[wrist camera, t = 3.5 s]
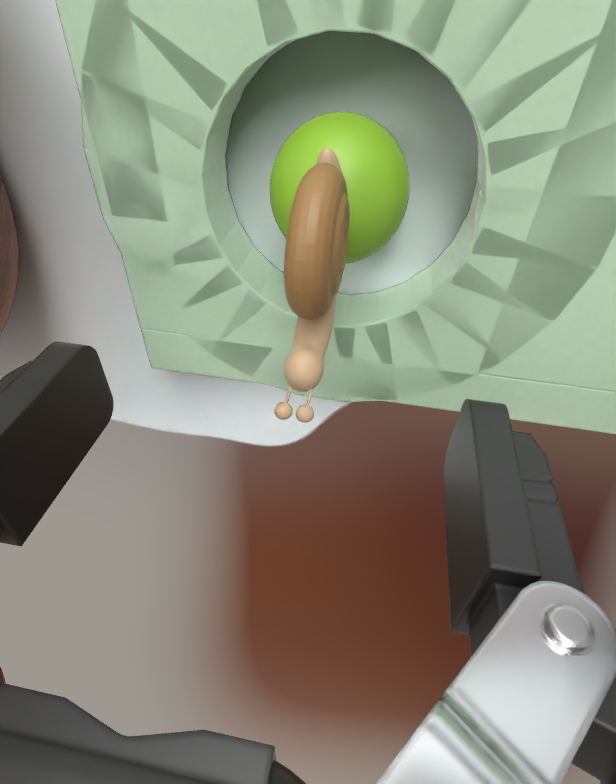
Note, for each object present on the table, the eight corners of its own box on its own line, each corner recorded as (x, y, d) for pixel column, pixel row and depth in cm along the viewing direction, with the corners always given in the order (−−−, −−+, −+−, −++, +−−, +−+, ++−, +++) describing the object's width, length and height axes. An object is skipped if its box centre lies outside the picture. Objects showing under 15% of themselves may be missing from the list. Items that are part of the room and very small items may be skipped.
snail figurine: (288, 246, 23) (206, 413, 14) (284, 95, 19) (163, 201, 10) (398, 256, 22) (383, 437, 13) (420, 101, 18) (419, 220, 9)
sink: (47, -190, 15) (-19, -221, 12) (1304, -195, 11) (1527, -238, 9) (165, 343, 29) (144, 373, 26) (731, 420, 25) (761, 463, 23)
